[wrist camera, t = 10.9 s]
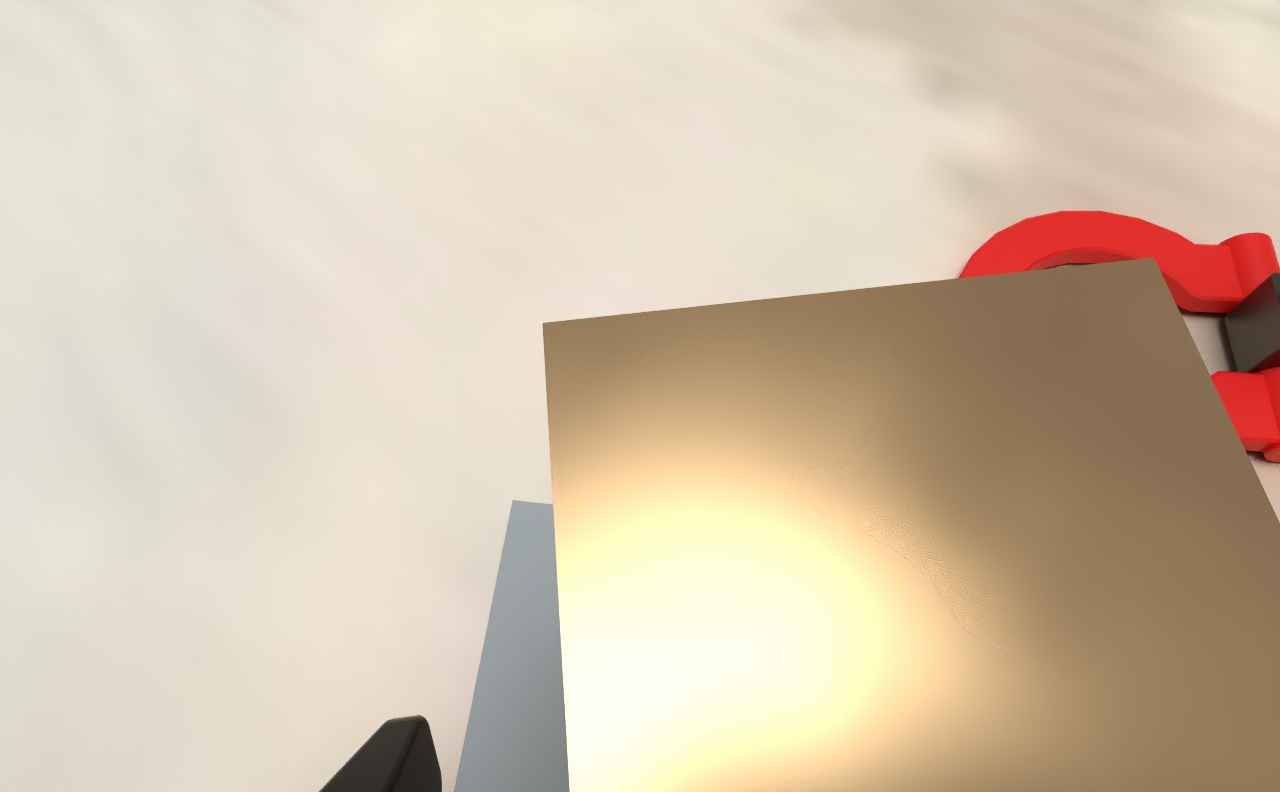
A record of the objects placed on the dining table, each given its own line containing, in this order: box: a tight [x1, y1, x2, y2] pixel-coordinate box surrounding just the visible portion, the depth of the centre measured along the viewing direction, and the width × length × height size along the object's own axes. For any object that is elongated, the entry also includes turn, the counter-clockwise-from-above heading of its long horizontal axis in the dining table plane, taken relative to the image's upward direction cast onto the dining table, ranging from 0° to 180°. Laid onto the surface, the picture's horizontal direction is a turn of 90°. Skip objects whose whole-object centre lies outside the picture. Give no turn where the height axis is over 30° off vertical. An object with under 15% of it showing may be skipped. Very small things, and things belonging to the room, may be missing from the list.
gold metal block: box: [543, 258, 1280, 792], centre depth 11 cm, size 5×5×13 cm
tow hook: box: [959, 211, 1280, 463], centre depth 17 cm, size 8×13×9 cm
